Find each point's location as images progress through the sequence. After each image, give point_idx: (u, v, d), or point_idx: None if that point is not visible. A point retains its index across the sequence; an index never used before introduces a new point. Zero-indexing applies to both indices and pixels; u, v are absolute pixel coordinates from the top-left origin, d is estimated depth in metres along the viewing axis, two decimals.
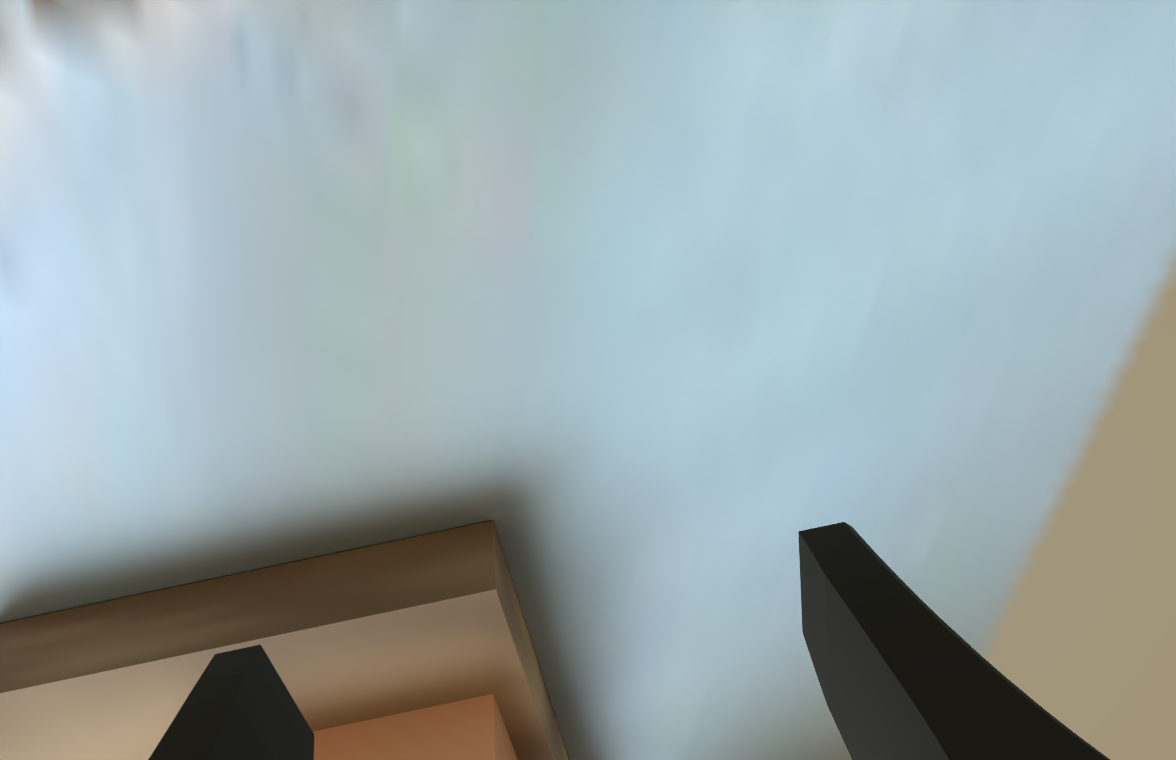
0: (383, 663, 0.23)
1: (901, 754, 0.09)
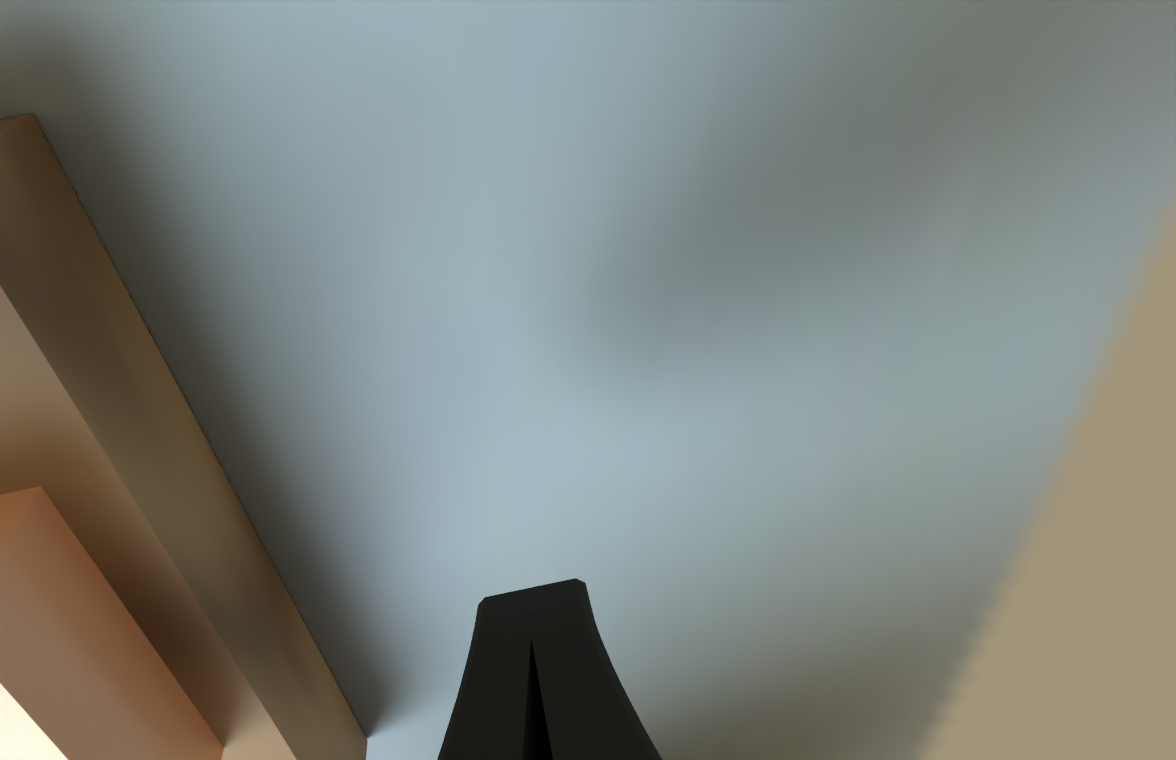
0: None
1: None
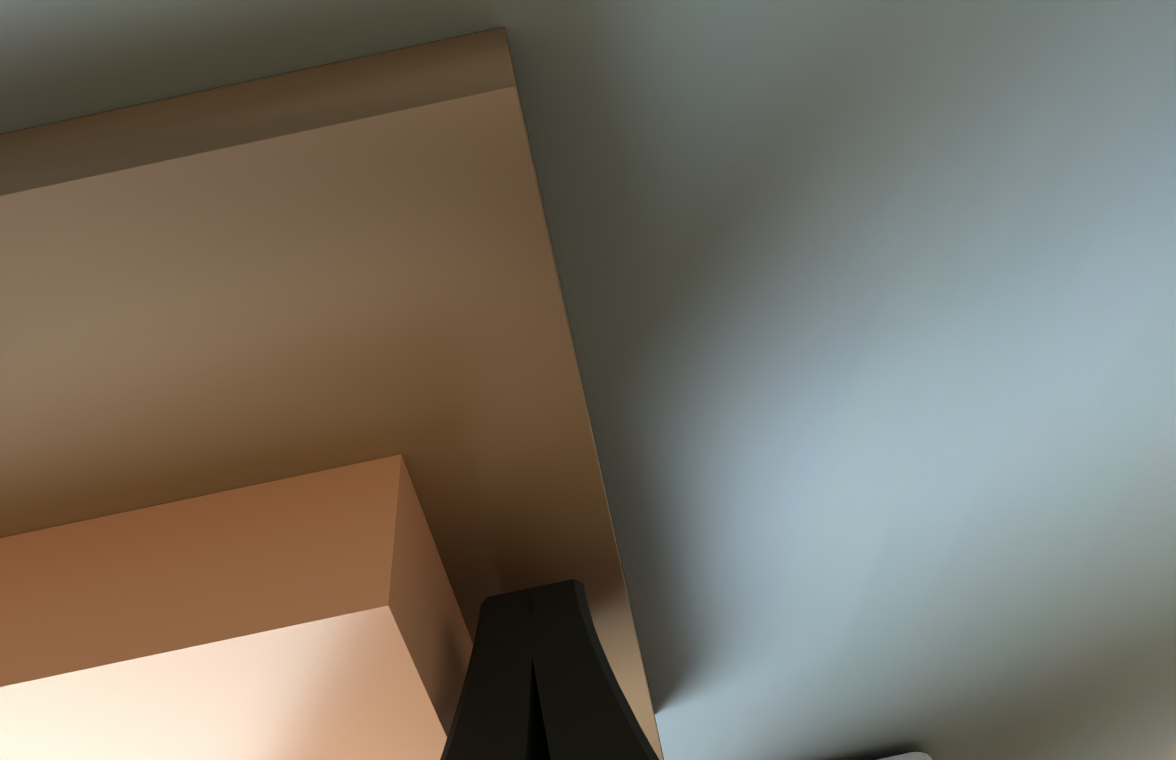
0: (240, 324, 0.09)
1: None
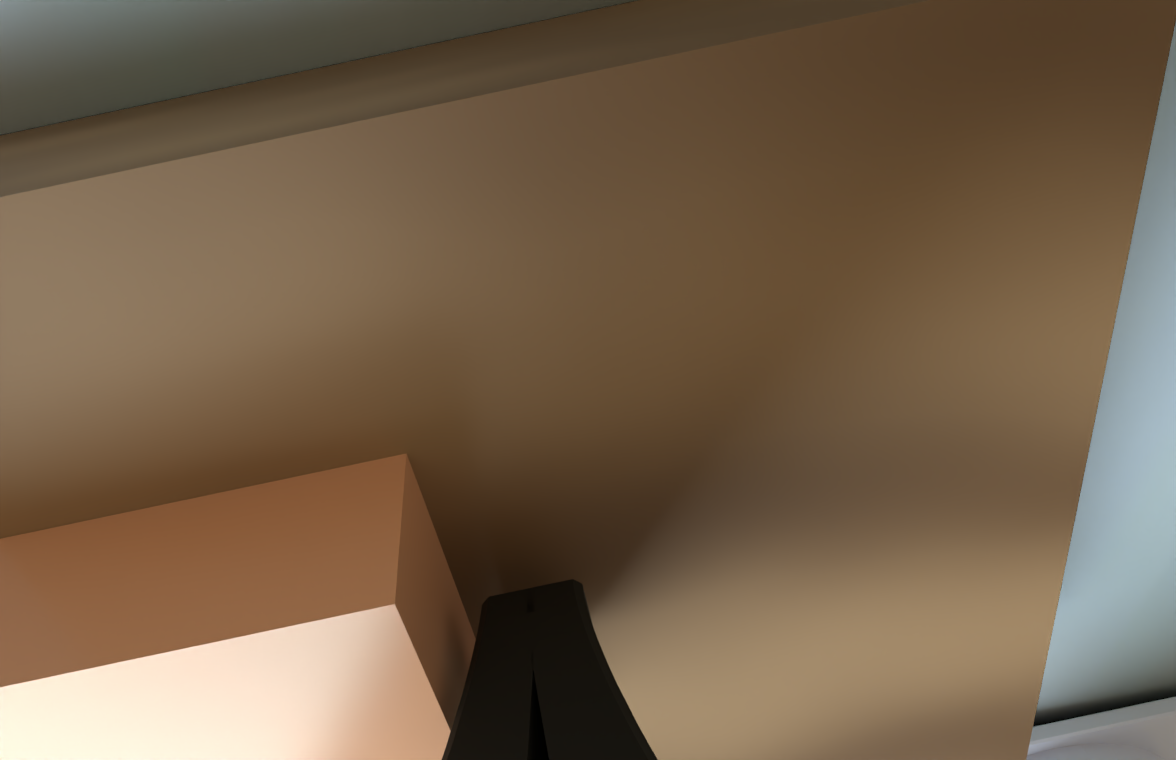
0: (841, 196, 0.10)
1: None
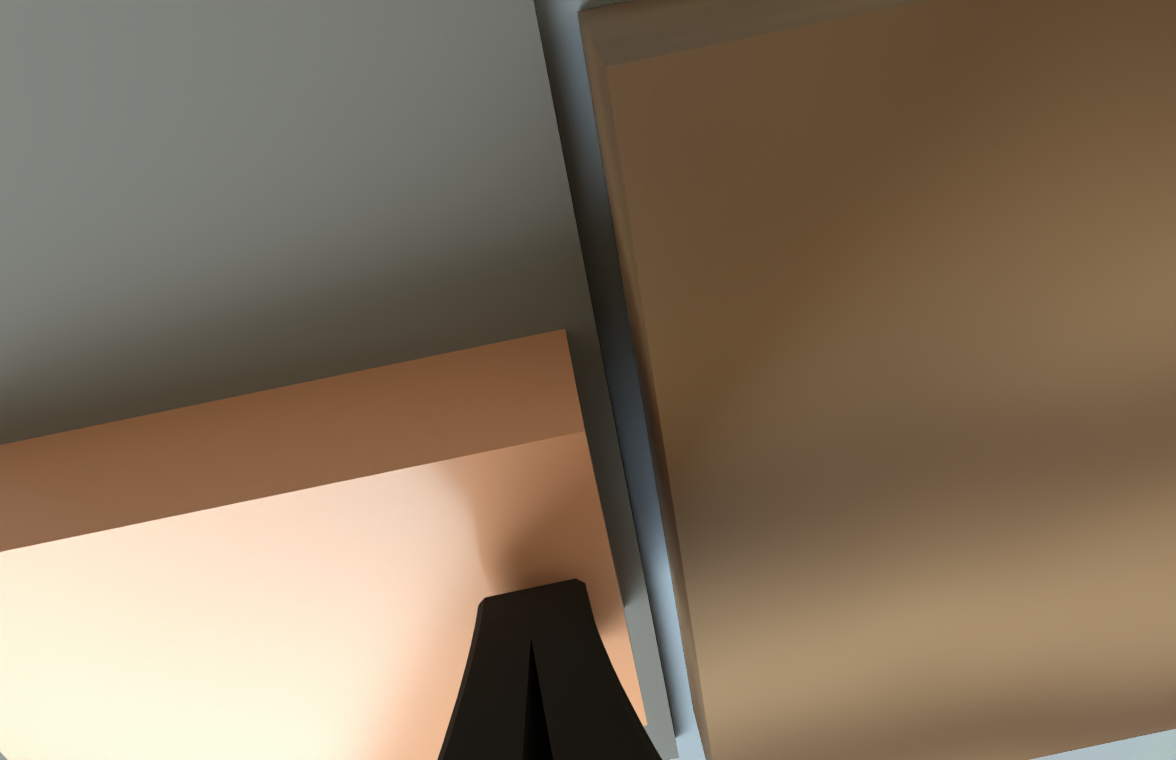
0: None
1: None
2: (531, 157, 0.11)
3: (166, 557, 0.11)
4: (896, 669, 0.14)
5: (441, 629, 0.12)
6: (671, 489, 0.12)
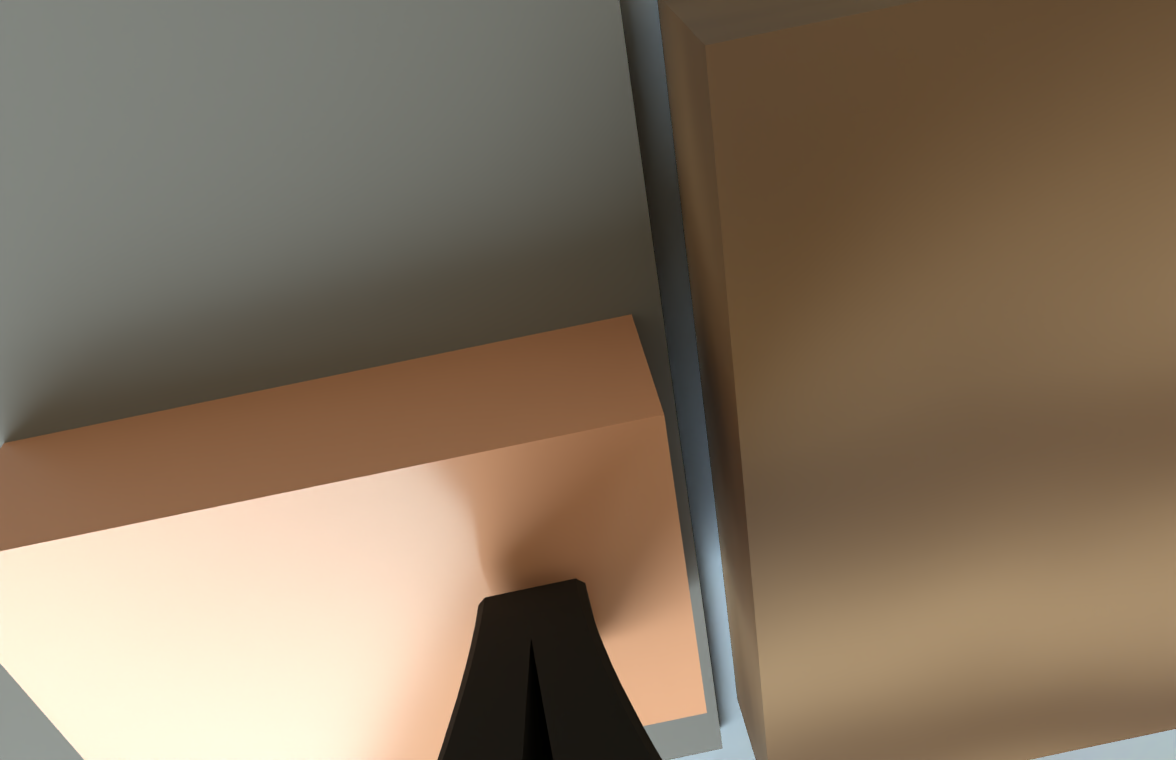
0: None
1: None
2: (607, 140, 0.11)
3: (241, 541, 0.11)
4: (953, 657, 0.14)
5: None
6: (742, 474, 0.12)
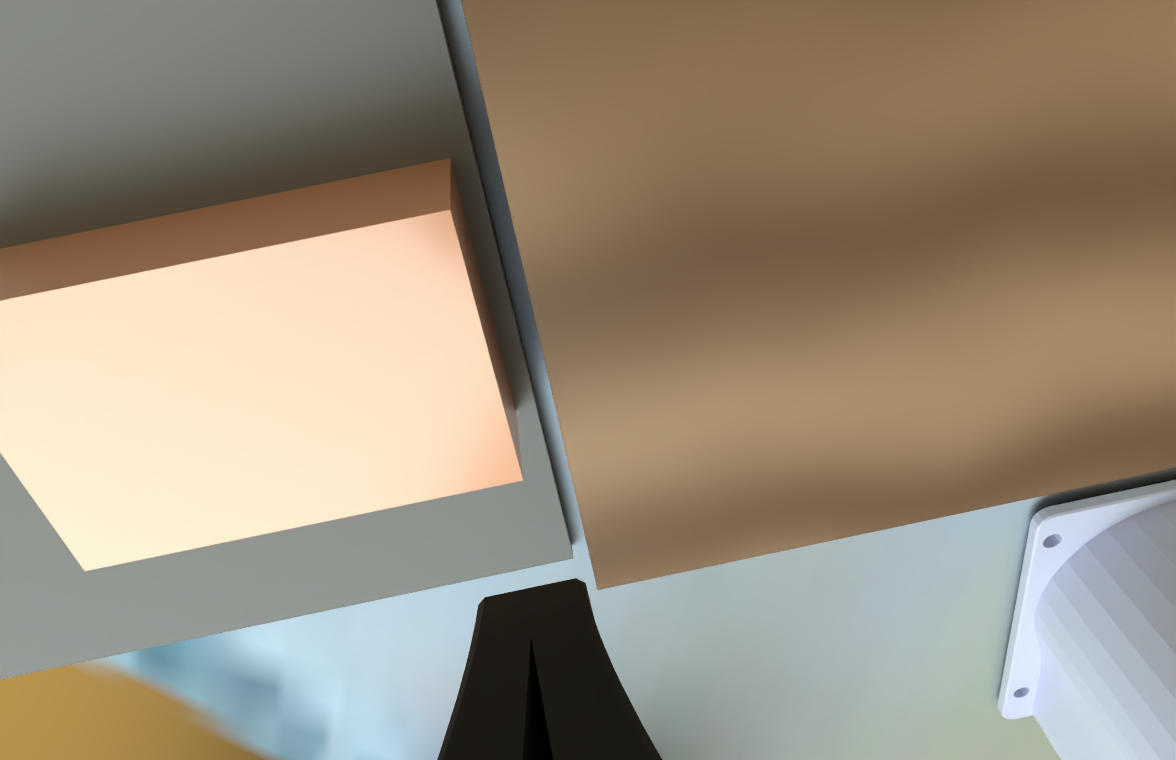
0: None
1: None
2: (415, 15, 0.15)
3: (145, 306, 0.15)
4: (720, 443, 0.18)
5: (354, 381, 0.16)
6: (524, 269, 0.16)
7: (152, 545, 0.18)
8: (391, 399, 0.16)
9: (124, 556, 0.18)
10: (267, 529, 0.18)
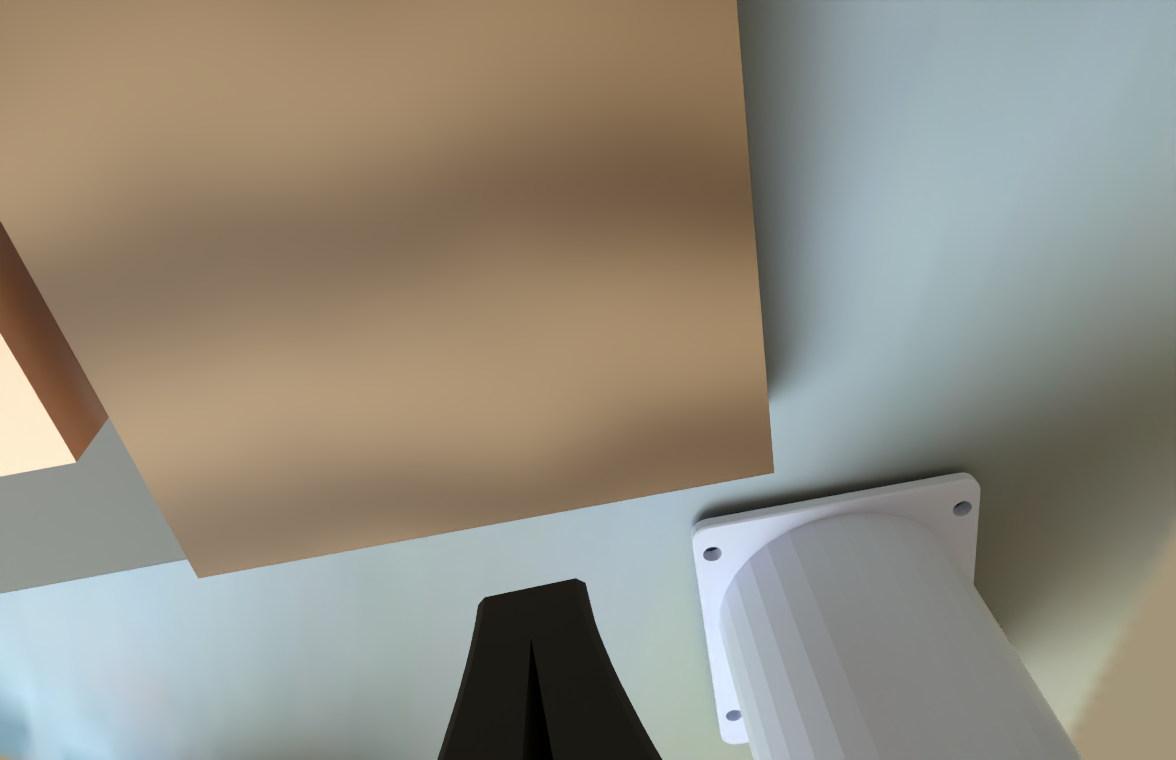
0: None
1: None
2: None
3: None
4: (274, 433, 0.19)
5: None
6: (22, 256, 0.17)
7: None
8: None
9: None
10: None
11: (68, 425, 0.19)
